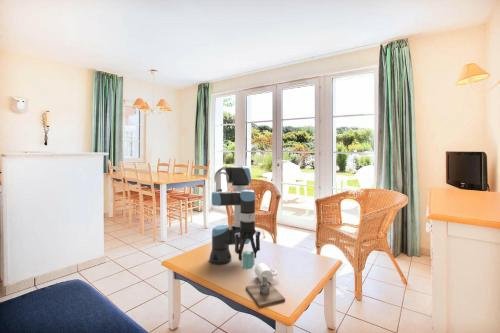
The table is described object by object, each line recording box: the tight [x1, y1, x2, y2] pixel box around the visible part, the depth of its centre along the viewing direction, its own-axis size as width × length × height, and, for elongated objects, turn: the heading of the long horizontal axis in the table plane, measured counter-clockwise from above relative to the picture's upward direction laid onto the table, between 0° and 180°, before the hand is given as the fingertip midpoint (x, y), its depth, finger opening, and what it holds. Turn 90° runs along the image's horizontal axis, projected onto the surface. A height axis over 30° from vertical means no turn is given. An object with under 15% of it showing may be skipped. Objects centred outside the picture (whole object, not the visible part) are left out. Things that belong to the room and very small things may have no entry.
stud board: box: [245, 276, 286, 308], centre depth 131 cm, size 18×14×10 cm
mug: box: [254, 262, 278, 283], centre depth 147 cm, size 12×10×8 cm
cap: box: [241, 250, 254, 270], centre depth 129 cm, size 5×5×7 cm
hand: (247, 265), depth 129 cm, fingers closed on cap, 5 cm apart
